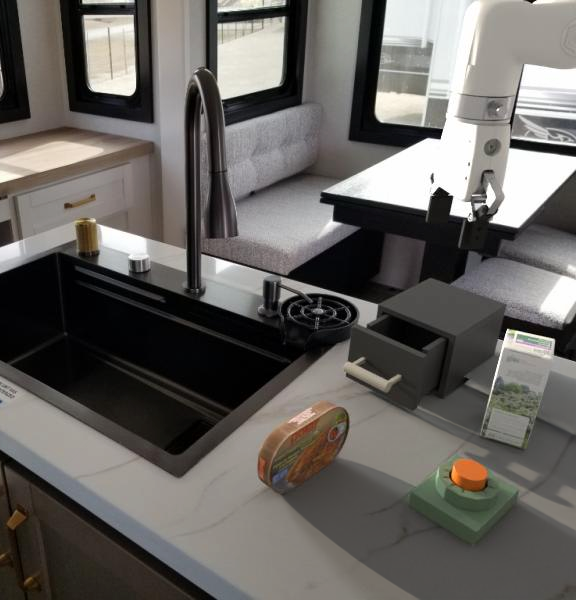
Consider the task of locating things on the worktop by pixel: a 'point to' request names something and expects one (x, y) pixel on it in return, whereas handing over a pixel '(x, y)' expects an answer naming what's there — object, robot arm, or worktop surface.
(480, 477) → the button
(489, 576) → the worktop surface
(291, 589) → the worktop surface
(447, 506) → the green button base
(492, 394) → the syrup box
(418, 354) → the dark grey drawer
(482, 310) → the grey drawer box
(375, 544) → the worktop surface
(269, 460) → the tin
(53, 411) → the worktop surface
